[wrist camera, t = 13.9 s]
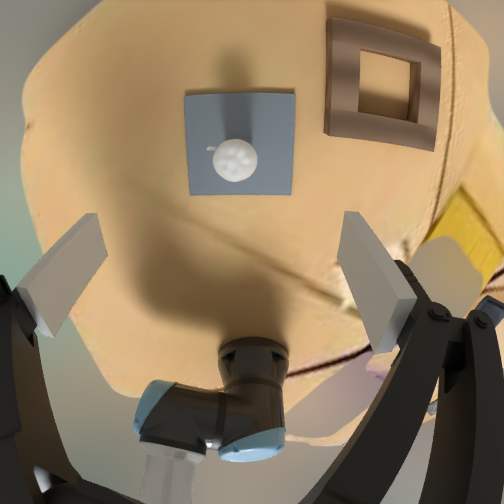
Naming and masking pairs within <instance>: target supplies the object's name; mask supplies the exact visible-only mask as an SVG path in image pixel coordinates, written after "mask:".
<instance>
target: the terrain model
mask: <svg viewBox="0 0 504 504" xmlns="http://www.w3.org/2000/svg"><path fill="white" fill-rule="evenodd" d="M437 401H438V399H437V400H435V401H433V402H432V403H430V404H429V406H428V409H427V411H426V412H427V413H429V414H430V415H434V414H435V413H436V412H437Z"/></svg>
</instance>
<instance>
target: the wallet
mask: <svg viewBox="0 0 504 504" xmlns="http://www.w3.org/2000/svg"><path fill="white" fill-rule="evenodd" d="M475 310H480V311H483V312H485V313H486V314H488V315H489V317H490V318H491V319H492V321H493V323H494V326H495V327H496V326H497V325H498V324H499V323H500V321H501V320H502V319H503V318H504V304H503V303H501V302H499V301H498V300H496V299H494V298H492V297H491V296H488V295H487V296H486V297H484V298H483V300H482V301H481V302H480V303H479V305H478V306H477V307H476V308H475Z"/></svg>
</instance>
